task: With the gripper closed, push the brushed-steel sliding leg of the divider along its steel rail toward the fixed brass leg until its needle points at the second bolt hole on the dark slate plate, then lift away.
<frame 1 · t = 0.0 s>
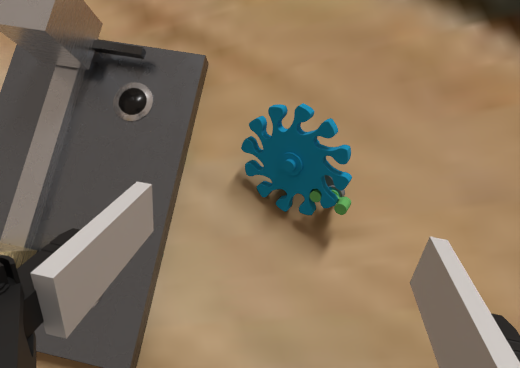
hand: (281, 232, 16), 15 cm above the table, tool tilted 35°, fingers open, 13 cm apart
gear: (296, 175, 32), on the table
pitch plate: (79, 185, 33), on the table
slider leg: (78, 27, 29), point 6 cm above the table, slide at 0.0 cm
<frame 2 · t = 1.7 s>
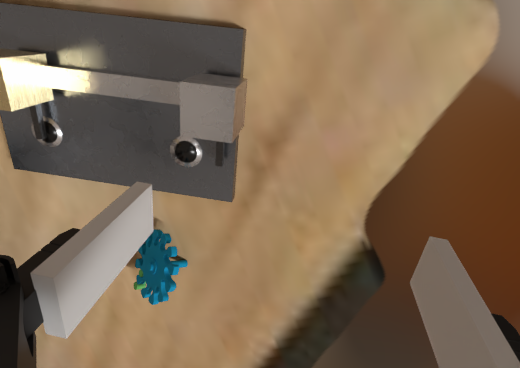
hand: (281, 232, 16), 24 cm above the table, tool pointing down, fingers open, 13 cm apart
gear: (165, 250, 49), on the table
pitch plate: (118, 106, 40), on the table
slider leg: (214, 130, 34), point 6 cm above the table, slide at 0.0 cm
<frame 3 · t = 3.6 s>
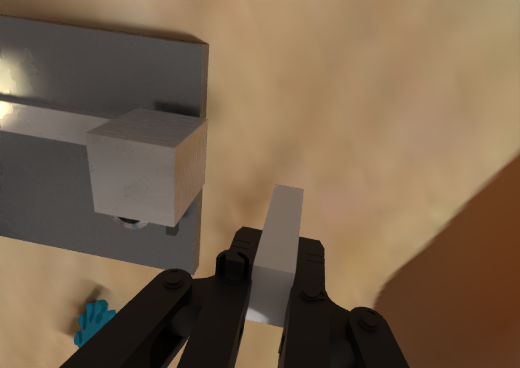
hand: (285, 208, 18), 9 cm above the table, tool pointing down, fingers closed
gear: (115, 321, 38), on the table
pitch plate: (37, 143, 29), on the table
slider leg: (156, 195, 22), point 6 cm above the table, slide at 0.0 cm
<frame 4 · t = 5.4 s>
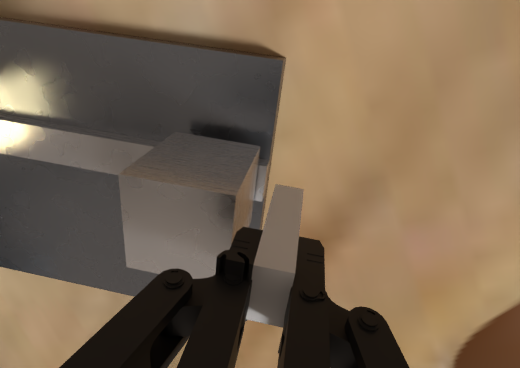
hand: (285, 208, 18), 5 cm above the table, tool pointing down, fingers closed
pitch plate: (69, 170, 25), on the table
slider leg: (198, 239, 18), point 6 cm above the table, slide at 1.5 cm, touching gripper
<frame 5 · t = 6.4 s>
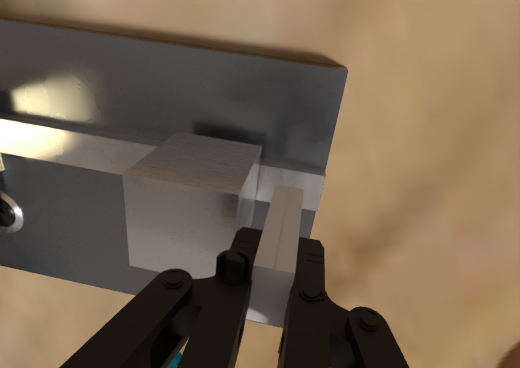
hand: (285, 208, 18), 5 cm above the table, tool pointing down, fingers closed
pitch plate: (113, 177, 25), on the table
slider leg: (200, 238, 19), point 6 cm above the table, slide at 4.9 cm, touching gripper
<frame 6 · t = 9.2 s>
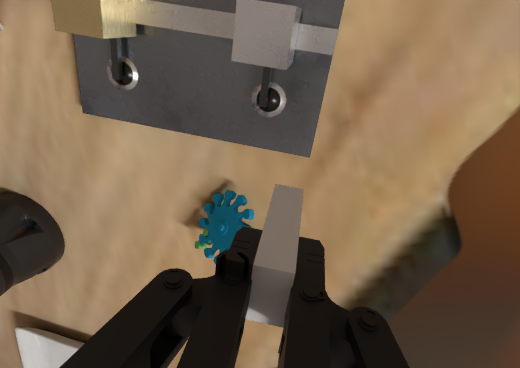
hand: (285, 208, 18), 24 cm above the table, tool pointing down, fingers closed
gear: (230, 214, 48), on the table
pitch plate: (200, 48, 38), on the table
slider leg: (264, 61, 32), point 6 cm above the table, slide at 4.9 cm
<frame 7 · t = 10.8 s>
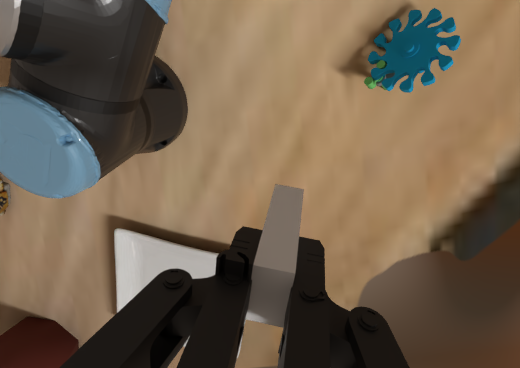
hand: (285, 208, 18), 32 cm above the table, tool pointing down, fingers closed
gear: (399, 51, 43), on the table
square plate: (187, 286, 68), on the table
bucket: (48, 339, 83), on the table
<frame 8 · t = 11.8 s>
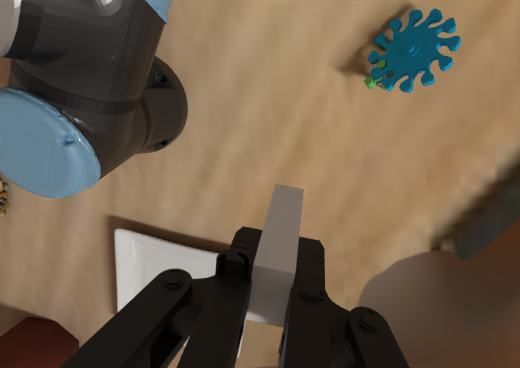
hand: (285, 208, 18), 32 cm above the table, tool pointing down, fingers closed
gear: (399, 52, 43), on the table
square plate: (187, 286, 68), on the table
bucket: (48, 340, 83), on the table
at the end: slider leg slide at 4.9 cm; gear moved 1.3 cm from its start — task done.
